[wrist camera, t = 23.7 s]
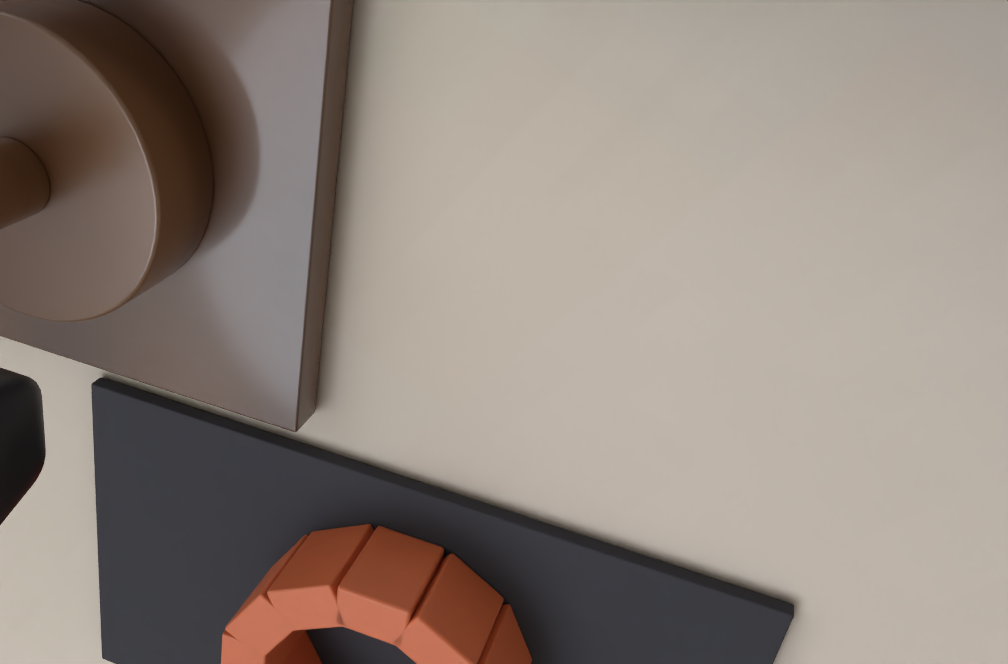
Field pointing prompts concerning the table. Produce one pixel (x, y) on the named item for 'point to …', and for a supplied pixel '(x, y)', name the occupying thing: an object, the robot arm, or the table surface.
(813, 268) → the table surface
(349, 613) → the terracotta ring
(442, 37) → the table surface
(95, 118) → the stand
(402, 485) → the felt mat
